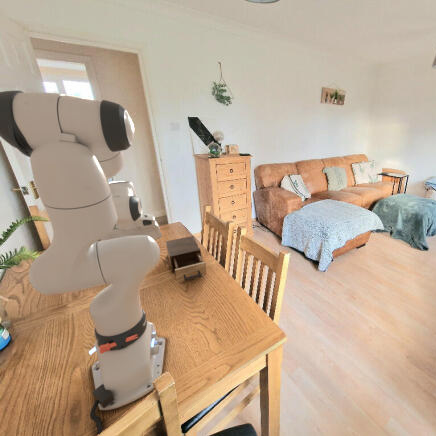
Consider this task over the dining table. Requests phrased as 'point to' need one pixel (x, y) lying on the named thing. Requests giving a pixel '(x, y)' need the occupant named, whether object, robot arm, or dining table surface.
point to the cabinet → (181, 248)
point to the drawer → (188, 267)
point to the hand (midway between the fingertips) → (136, 251)
